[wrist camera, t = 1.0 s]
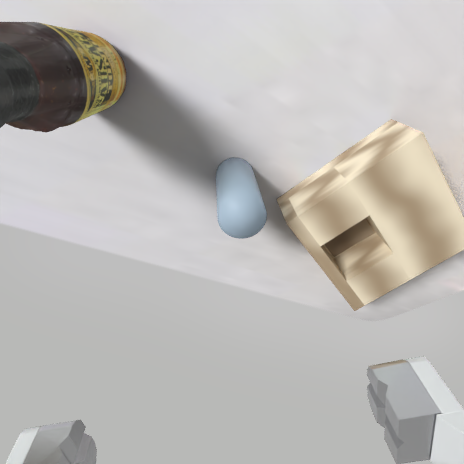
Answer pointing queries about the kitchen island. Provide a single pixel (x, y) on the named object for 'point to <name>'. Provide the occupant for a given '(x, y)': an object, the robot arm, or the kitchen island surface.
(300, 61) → the kitchen island surface
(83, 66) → the sauce bottle
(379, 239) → the bore block
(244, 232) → the pin
